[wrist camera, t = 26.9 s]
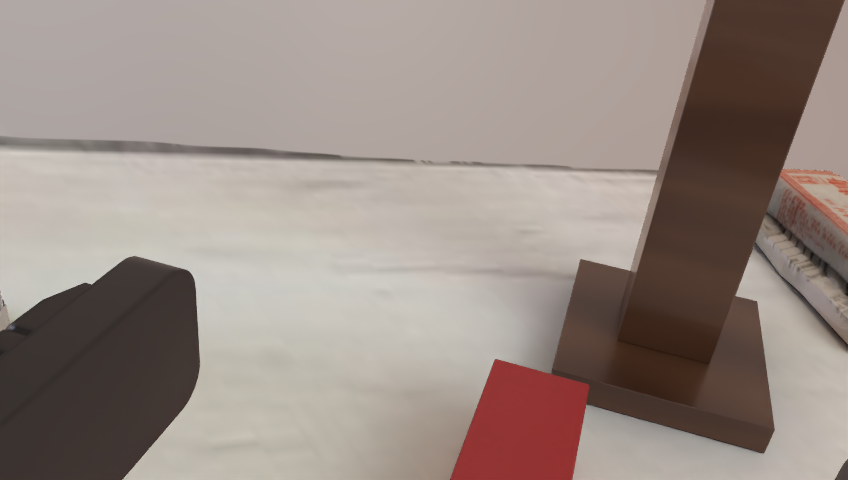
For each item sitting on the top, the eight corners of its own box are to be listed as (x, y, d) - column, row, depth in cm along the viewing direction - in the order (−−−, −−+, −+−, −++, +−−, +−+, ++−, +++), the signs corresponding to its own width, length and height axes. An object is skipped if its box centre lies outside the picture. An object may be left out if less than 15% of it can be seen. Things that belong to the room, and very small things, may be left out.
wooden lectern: (766, 467, 37) (1187, -453, 20) (543, 404, 39) (752, -469, 22) (749, 321, 48) (1012, -354, 31) (575, 279, 50) (732, -372, 33)
